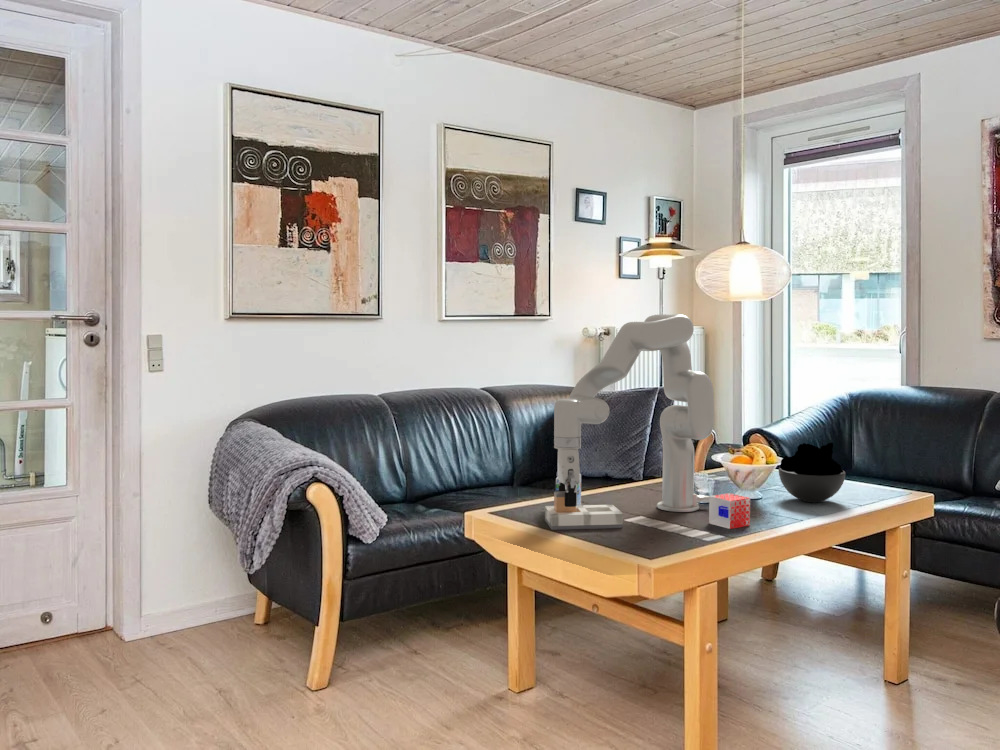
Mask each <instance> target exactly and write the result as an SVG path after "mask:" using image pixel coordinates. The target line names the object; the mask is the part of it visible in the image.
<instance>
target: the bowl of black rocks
mask: <svg viewBox="0 0 1000 750" xmlns="http://www.w3.org/2000/svg"><path fill="white" fill-rule="evenodd" d="M796 447H797V448H796V449H797V451H795V453H794V455H792V456H788V455H785V456H784V457H783V458H782V459H781V460H780V466H779V468H778V475H779V480H780V483H781V484H782V486H783V488H784V489H785V490H786V491H787V492H788V493H789V494H790V495H791V496H793V497H794V498H796V499H798V500H801V501H803V502H808V503H818V502H823V501H826V500H828V499H830V498H833V496H835V495H836V494H837V493H838V492H839V491H840V489H841V488H842V487H843V485H844V481H845V478H846V471H845V470H843V468H842V465H841V464H839V463H838V462H837V461H835V459H833V457H832V456H833V453H834V452H833V451H834V450H833V449H834V442H827V444H825V445H821V446H820V448H819V447H818V446H816V445H813V444H810V443H805V442H804V443H800V444H799V445H798V446H796Z"/></svg>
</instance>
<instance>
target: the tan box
mask: <svg viewBox="0 0 1000 750" xmlns="http://www.w3.org/2000/svg"><path fill="white" fill-rule="evenodd" d="M565 492H566V491H559V492H556V491H554V492H553V502H554V503H553V506H554V510H555V511H556V512H557V513H564V512H576V507H565Z"/></svg>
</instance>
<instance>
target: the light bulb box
mask: <svg viewBox="0 0 1000 750" xmlns="http://www.w3.org/2000/svg"><path fill="white" fill-rule="evenodd" d="M575 484H576V483H575ZM559 486H561V485H559V479H558V476H557V477H556V478H555V492H559ZM576 505H582V474H581V473H580V483H579V484H576Z"/></svg>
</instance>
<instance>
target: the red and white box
mask: <svg viewBox="0 0 1000 750" xmlns="http://www.w3.org/2000/svg"><path fill="white" fill-rule="evenodd" d="M708 496H709V495H708ZM708 504H709V505H708V506H709V507H708V509H709V511H708V523H709V524H710V525H713V526H714V525H715V526H718V527H722V528H724V529H728V530H730V529H731V530H732V529H737V528H742V527H743V528H744V527H749V526H751V525H750V524H751V497H747V496H743V495H739V494H736V493H735V494H734V493H730V492H729V493H728V492H727V493H721V494H714V495H710V496H709V502H708Z"/></svg>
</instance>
